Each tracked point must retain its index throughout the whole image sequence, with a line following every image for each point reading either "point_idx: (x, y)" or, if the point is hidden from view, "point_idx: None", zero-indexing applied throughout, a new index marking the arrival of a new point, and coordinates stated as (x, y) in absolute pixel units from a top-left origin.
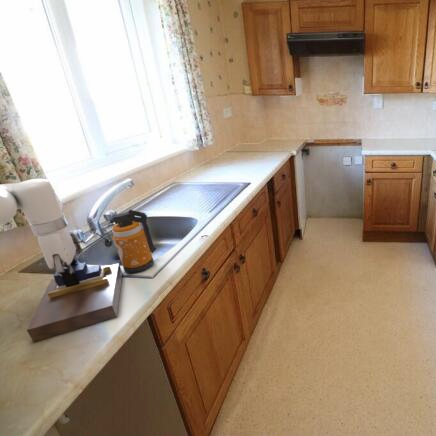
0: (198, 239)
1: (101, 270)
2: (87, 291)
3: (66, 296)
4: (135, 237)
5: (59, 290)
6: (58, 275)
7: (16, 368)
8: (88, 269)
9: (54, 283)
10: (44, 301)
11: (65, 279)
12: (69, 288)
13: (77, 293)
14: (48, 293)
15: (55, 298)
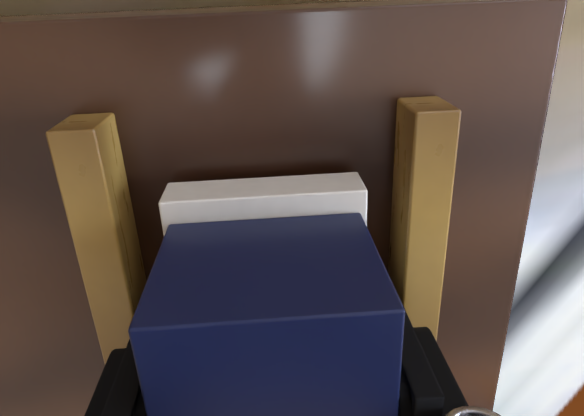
0: None
1: None
2: (77, 413)
3: (48, 271)
4: None
5: (83, 247)
6: (141, 381)
7: None
8: None
9: (424, 73)
10: (14, 71)
11: (86, 412)
12: (97, 329)
13: (69, 350)
14: (49, 140)
15: (43, 176)
